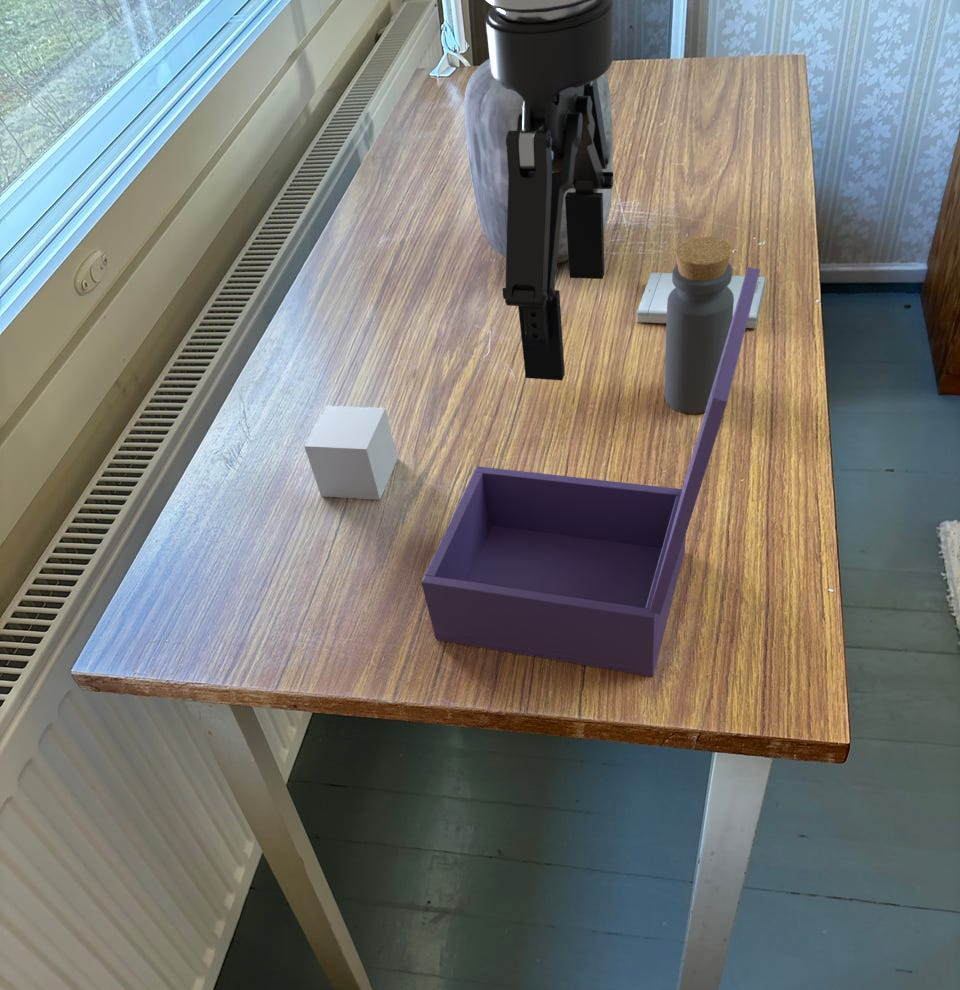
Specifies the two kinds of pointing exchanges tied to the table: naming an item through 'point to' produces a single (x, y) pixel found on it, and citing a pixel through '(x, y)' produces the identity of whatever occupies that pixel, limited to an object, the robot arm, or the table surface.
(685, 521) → the lid
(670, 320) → the bottle
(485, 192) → the vase
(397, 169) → the table surface
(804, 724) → the table surface
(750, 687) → the table surface
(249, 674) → the table surface
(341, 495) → the white cube
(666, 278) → the hard drive
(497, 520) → the box
